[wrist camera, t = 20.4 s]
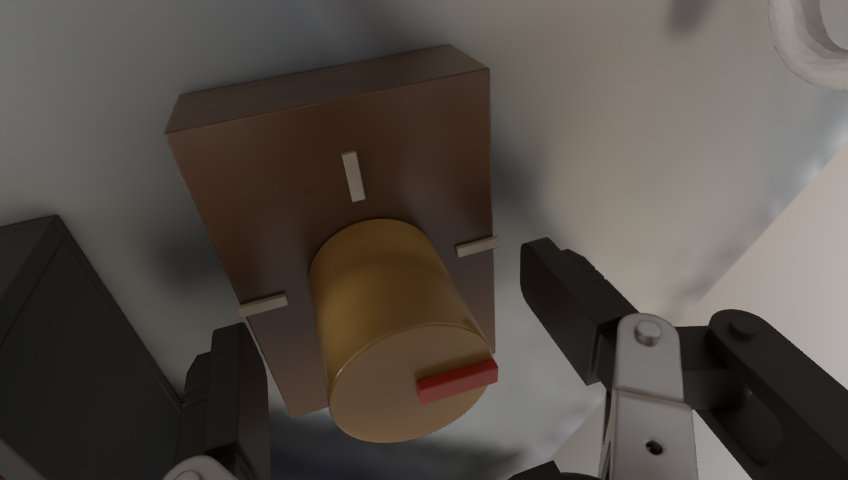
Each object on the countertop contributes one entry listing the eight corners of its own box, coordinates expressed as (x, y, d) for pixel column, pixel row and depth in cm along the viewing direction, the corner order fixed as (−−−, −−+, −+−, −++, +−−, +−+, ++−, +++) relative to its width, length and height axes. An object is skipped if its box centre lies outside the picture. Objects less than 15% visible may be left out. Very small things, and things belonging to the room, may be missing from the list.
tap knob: (321, 336, 15) (346, 473, 11) (294, 234, 13) (313, 364, 9) (438, 305, 16) (497, 424, 12) (432, 205, 14) (503, 313, 10)
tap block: (174, 95, 13) (156, 136, 10) (453, 43, 15) (496, 68, 12) (283, 359, 19) (289, 423, 17) (470, 303, 21) (500, 355, 18)
